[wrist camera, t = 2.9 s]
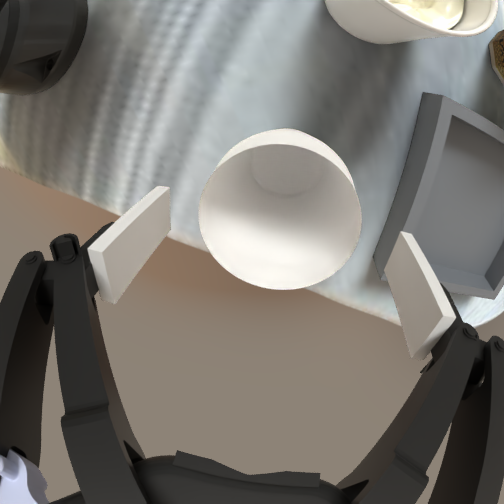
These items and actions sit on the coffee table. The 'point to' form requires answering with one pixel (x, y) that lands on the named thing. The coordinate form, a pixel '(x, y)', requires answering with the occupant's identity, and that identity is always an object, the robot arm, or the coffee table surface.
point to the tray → (452, 198)
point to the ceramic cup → (498, 54)
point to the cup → (280, 211)
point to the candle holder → (412, 18)
